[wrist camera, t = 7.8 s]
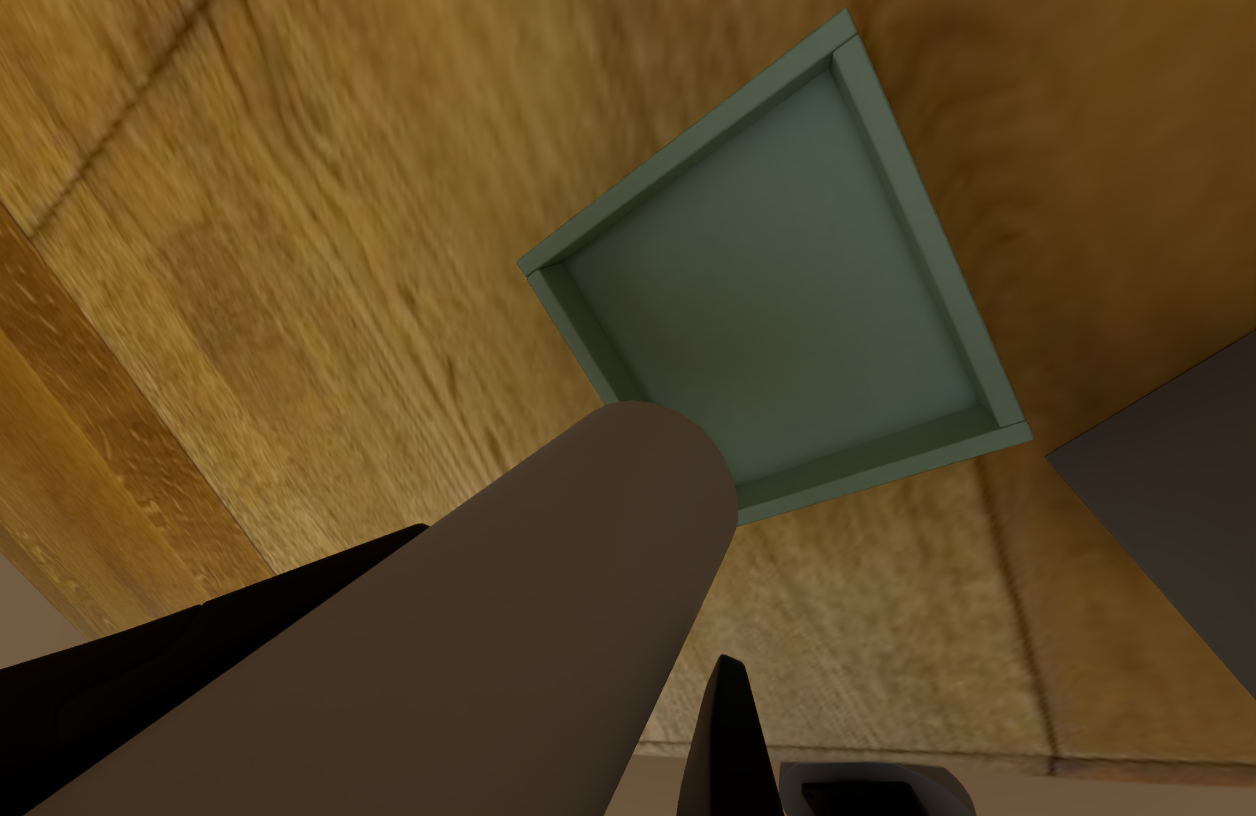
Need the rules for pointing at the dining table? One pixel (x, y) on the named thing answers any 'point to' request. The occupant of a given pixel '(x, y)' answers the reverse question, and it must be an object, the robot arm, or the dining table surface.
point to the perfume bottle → (1185, 495)
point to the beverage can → (463, 652)
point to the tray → (786, 290)
